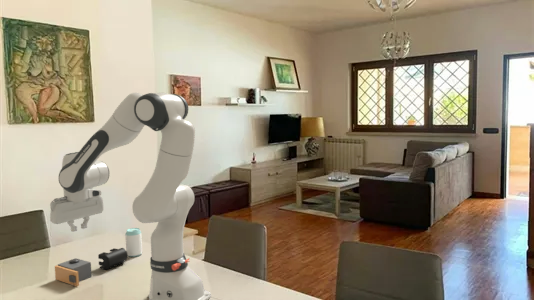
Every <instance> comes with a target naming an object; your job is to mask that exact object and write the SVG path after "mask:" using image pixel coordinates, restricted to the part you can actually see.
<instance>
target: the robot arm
mask: <svg viewBox="0 0 534 300" xmlns="http://www.w3.org/2000/svg"><path fill="white" fill-rule="evenodd" d="M188 114H189V104H188V102H187V100H186V99H185V98H184V97H183V96H181V95H179V94H176V93H167V92H153V93H152V92H150V93H149V92H148V93H145V94H142V93H140V92H132V93H129V94H128V95H127V96H126V97H125V98H124V99H123V100H122V101H121V102H120V103H119V105H118V106H117V107H116V109H115V110H114V112H113V113H112V115H111V116H110V117H109V119H108V120H107V121H106V122H105V123H104V124H103V125H102V127H100V129H98V130H97V131H96V132H95V133H93V135H92V136H91V137H90V138H89V139H88V140H87V141H86V142H85V144H84V145H83V146H82V147H81V149H80V150H79V151H75V152H69V153H67V154H64V155H63V157H62V158H63V159H62V162H61V169H60V170H59V173H58V183H59V184H60V186H61V187H62V189H63V196H61V197H57V198H54V199H53V200H51V202H50V204H49V206H50V215H49V218H50V220H49V221H50V222H51V224H54V225H60V224H64V223H67V225H69V227H70V231H71V232H77V231H78V226H77V225H75V224H74V223H75V220H79V219H83V220H82V223H80V229H82V230H84V229H87V228H88V223H89V220H90V216H91V217H92V216H95V215H98V214H99V215H100V214H102V213H103V212H104V200H103V197H102V191H101V189H94V188H96V187H99V186H103V185H105V184H106V183H107V182H108V181H109V178H110V169H109V166H108V165H107V164H106V162H104V161H101V160H98V159H99V158H100V157H102V155H104V154H105V153H107V152H108V151H112V150H114V149H117V148H120V147H124V146H126V145H129V144H130V143H133V141H134V140H135V139H136V138H137V137H138V136H139V134H140V133H141V132H142V130H143V129H144V127H145V126H146V127H148V128H150V129H151V130H153V131H154V132H160V134H161V141H160V146H159V149H158V150H159V151H158V155H157V158H156V159H157V160H156V162H155V168H154V169H153V172H152V175H151V177H150V179H149V180H148V182H147V184H146V185H145V187H144V188H143V190H142V191H141V192H140V193H139V194H138V195H136V197H135V198H134V200H133V201H132V209H131V210H132V213H133V215H134V217H135V219H136V220H137V221H138V222H140V223H142V224H151V223H154V224H155V223H157V224H156V227H155V229H154V230H153V232H152V233H151V234H150V235H151V236H150V251H151V252H150V254H151V257H150V259H149V260H150V261H149V265H150V270H151V276H150V284H149V285H150V286H149V294H148V300H209V299H210V298H211V296H212V293H211V292H210V291H208V290H206V289H205V288H204V283H203V279H202V278H201V277H200V276H199V275H198V274H197V273H196V272H195V271H194V270H193V269H192V268H191V267H190V266H189V262H190V258H186V255H185V252H184V231H185V225H186V220H187V218H188V214H189V212H190V209H191V208H192V206H193V205H194V203H195V193H194V190H193V189H192V188H191V187H190V186H189V185H187V184H183V183H182V182H183V181H184V180H185V179H186V178H187V176H188V174H189V171H190V167H191V166H190V165H191V161H192V157H193V152H194V147H195V135H196V134H195V133H196V132H195V131H196V130H195V127H194V125H193V123H192V122H190V121H189V120H186V118H187V117H188Z"/></svg>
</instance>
